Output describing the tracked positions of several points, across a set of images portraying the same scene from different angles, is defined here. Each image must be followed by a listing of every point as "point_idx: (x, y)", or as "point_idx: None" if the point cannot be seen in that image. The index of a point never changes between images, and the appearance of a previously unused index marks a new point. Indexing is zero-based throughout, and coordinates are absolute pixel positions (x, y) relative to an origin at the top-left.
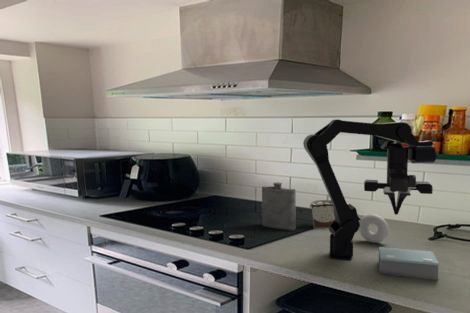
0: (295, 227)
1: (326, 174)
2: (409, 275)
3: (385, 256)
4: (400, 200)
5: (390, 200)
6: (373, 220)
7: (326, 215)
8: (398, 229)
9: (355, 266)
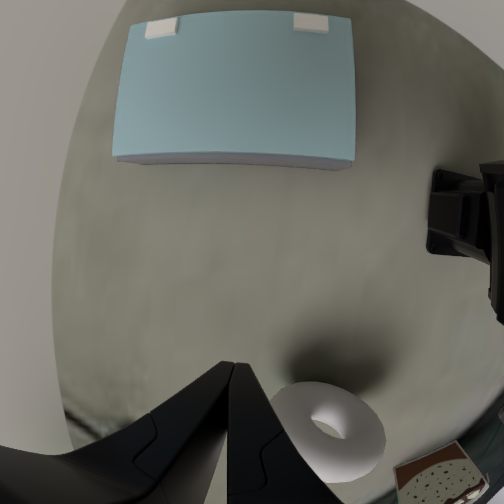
0: (501, 414)
1: None
2: None
3: (331, 31)
4: (136, 459)
5: (315, 474)
6: (340, 444)
7: (435, 482)
8: (215, 484)
9: (417, 113)
